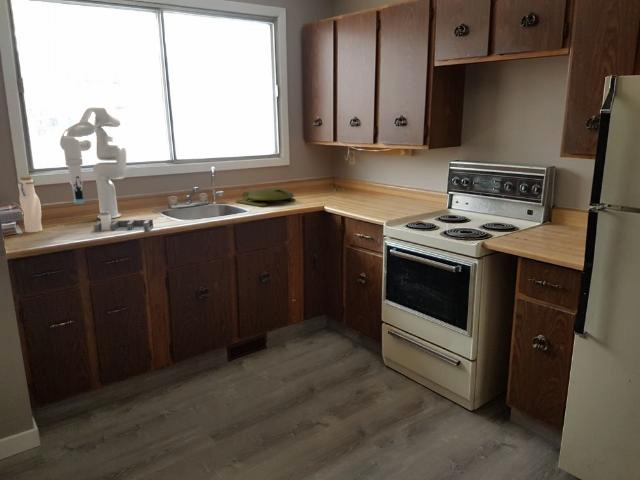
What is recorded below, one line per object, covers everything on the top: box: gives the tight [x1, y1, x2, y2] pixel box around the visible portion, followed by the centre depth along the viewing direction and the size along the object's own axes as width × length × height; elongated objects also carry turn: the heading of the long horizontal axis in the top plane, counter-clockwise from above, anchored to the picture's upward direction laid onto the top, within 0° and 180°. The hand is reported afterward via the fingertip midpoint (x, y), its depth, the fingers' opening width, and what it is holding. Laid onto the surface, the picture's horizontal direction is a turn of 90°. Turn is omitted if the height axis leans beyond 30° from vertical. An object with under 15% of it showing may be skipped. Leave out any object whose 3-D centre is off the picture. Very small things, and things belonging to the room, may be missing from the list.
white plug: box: [99, 211, 112, 230], centre depth 262 cm, size 4×4×9 cm
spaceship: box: [235, 187, 297, 208], centre depth 339 cm, size 35×31×10 cm
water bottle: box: [17, 176, 43, 233], centre depth 261 cm, size 10×9×28 cm
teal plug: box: [71, 184, 85, 205], centre depth 258 cm, size 4×4×9 cm
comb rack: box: [91, 218, 154, 233], centre depth 264 cm, size 12×28×4 cm, turn 98°
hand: (78, 198), depth 259 cm, fingers closed on teal plug, 4 cm apart
